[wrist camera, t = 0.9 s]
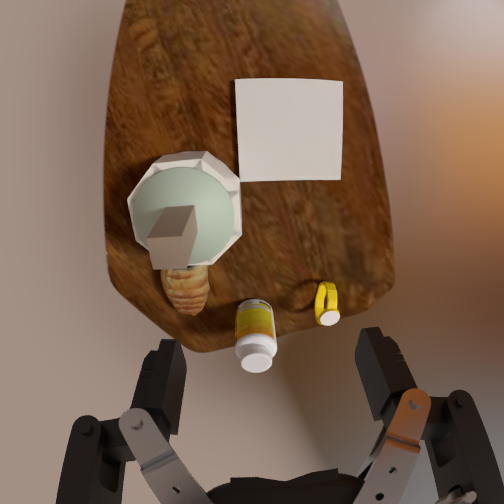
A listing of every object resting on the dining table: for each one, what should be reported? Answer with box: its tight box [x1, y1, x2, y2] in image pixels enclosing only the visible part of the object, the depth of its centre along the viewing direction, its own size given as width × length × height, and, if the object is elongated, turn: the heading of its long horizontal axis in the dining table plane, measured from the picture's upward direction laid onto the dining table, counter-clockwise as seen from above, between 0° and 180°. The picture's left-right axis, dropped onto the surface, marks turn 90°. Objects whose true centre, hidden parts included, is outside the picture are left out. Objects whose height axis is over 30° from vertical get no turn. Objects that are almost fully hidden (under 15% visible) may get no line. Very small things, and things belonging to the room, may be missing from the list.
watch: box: [314, 281, 340, 325], centre depth 40 cm, size 6×3×6 cm, turn 174°
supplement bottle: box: [235, 299, 277, 373], centre depth 40 cm, size 6×6×10 cm
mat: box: [235, 78, 343, 182], centre depth 31 cm, size 12×12×1 cm
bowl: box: [127, 151, 242, 265], centre depth 33 cm, size 12×12×6 cm
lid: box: [133, 167, 235, 270], centre depth 27 cm, size 11×11×8 cm
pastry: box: [160, 265, 210, 316], centre depth 40 cm, size 9×7×4 cm
